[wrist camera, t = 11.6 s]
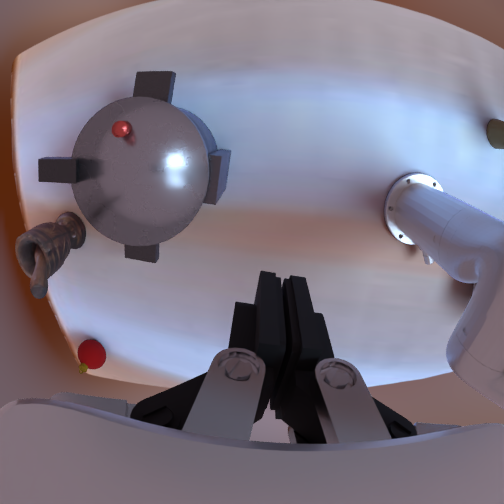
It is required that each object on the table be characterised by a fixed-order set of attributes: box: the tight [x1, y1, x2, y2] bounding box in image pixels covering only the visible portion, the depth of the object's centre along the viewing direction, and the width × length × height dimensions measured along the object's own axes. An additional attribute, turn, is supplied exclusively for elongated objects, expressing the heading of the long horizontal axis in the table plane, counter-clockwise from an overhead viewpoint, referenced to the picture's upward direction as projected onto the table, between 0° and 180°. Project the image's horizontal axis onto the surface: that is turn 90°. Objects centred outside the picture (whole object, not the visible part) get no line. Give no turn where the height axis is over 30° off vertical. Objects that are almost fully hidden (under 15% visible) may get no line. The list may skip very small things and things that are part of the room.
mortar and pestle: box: [15, 212, 86, 299], centre depth 39 cm, size 12×9×20 cm
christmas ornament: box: [78, 339, 106, 374], centre depth 55 cm, size 7×7×10 cm
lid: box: [38, 97, 210, 246], centre depth 32 cm, size 24×19×3 cm
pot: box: [125, 71, 231, 263], centre depth 38 cm, size 20×27×10 cm
